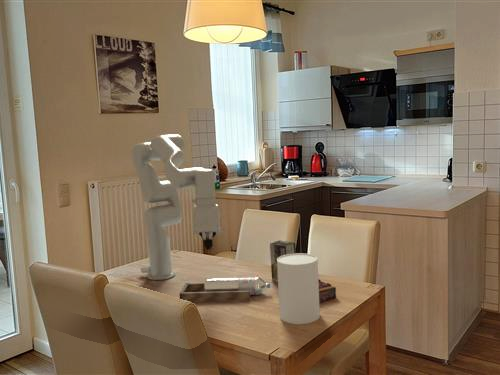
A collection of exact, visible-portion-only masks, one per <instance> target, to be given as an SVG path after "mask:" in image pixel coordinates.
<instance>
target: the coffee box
mask: <svg viewBox="0 0 500 375" xmlns="http://www.w3.org/2000/svg"><path fill="white" fill-rule="evenodd" d="M269 252H270V253H269V254H270V266H271V267H270V268H271V270H270V271H271V281H272V282H277V283H278V271H277V258H278V257H280V256H283V255H287V254H295V253H297V250H296V242H292V241H285V240H276V241H274V242H271V243H269Z"/></svg>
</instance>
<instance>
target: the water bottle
mask: <svg viewBox="0 0 500 375" xmlns="http://www.w3.org/2000/svg"><path fill="white" fill-rule="evenodd" d="M203 283H204V291H205V292H215V291H246V290H250V296H252V295H255V296H260V295H261V294H263V293H264V291H265V290H266V289H270V288H271V286H270V282H268V283H266V281H264V279H263V278H261V277H259V276H255V277H251V276H250V277H216V278H215V277H213V278H212V277H211V278H205V280H204V282H203Z"/></svg>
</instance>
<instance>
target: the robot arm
mask: <svg viewBox="0 0 500 375" xmlns="http://www.w3.org/2000/svg"><path fill="white" fill-rule="evenodd" d="M185 148H186V142H185V140H184V138H183V137H182V136H181V135H179V134H175V133H173V134H161V135H156V136H154V137H152V139H151V140H150V141H144V142H139V143H136V144H134V145H133V146H132V148H131V150H130V159H131V163H132V165H133V167H134V170H135V172H136V174H137V177H138V183H139V187H140V192H141V196H142V200H143V202H144V203H146V204H149V205H151V204H152V205H153V204H158V203H164V202H165V204H162V205H161V204H160V205H156V206H155V205H154V206H151V207H148V208H146V209H145V211H144V212H143V213H142V214H143V215H142V216H143V222H144V226H145V231H146V236H147V248H148V259H149V260H148V261H149V266H147V267H140V272H142V273H143V274H145V273H147V274H146V278H147V279H149V280H152V281H161V280H162V281H163V280H168V279H171V278H173V277H175V276H176V271H175V270H174V269H172V268H173V267H172V257H171V256H172V255H171V254H172V253H171V244H170V236H169V234H168V232H167V231H166V229H165V227H169V226H174V225H177V224H179V223H181V221H182V219H183V209H182V205H181V204H182V203H181V200H180V196H179V192H178V191H179V190H181V189H189V188H191V189H192V188H194V191H195V197H194V198H193V199H191V203H193V204H195V205H194V206H193V215H192V216H193V217H192V221H193V222H192V223H193V226H192V228H193V235H196V236H200V237H201V238H202V239H203V243H204V244H203V245H204V248H205V250H207V251H208V250H209V251H210V250H211V249H212V247H213V246H214V244H213V238H214V237H215V236H216V235H220V234H222V232H223V230H222V223H221V215H220V213H221V212H220V209H219V205H218V204H217V199H216V197H217V196H216V184H215V183H216V181H215V180H216V179H215V178H216V177H215V172H214V170H213V169H211V168H204V167H188V168H187V167H186V168H181V169H180V168H178V167H180V166H181V165H182V164H183V162H184V160H185V155H184V151H185ZM155 161H156V162H157V161H161V162H163V164H164V166H163V171H164V172H163V173H164V177H165V178H166V180H159V176H158V171H157V169H156V168H155V167H154V166H153V164H151V163H150V162H155ZM178 189H179V190H178ZM207 233H209V234H207Z"/></svg>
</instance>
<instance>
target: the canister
mask: <svg viewBox="0 0 500 375" xmlns="http://www.w3.org/2000/svg"><path fill="white" fill-rule="evenodd" d="M277 271H278V282H277V286H278V287H277V288H278V290H277V291H278V306H279V307H278V308H279V309H278V310H279V318H280V320H281V321H283V322H285V323H288V324H293V325H303V324H311V323H314V322H316V321H318V320H319V319H320V317H321V316H320V302H319V284H318V279H319V262H318V257H317V256H316V255H314V254H310V253H303V252H302V253H301V252H299V253H297V252H296V253H295V254H287V255H283V256H280V257H278V258H277Z"/></svg>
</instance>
